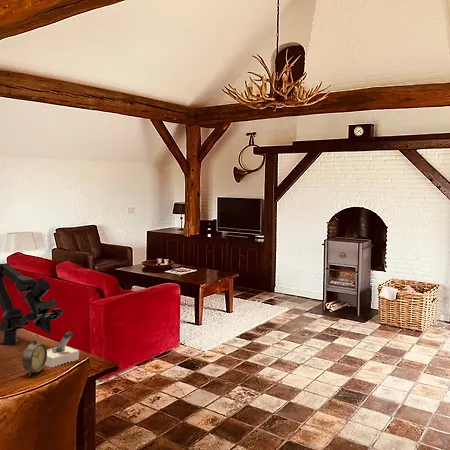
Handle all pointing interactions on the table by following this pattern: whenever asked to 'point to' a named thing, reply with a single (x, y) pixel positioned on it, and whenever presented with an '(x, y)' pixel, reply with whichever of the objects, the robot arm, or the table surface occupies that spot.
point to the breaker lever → (64, 341)
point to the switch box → (61, 356)
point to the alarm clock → (34, 357)
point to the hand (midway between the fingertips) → (49, 333)
